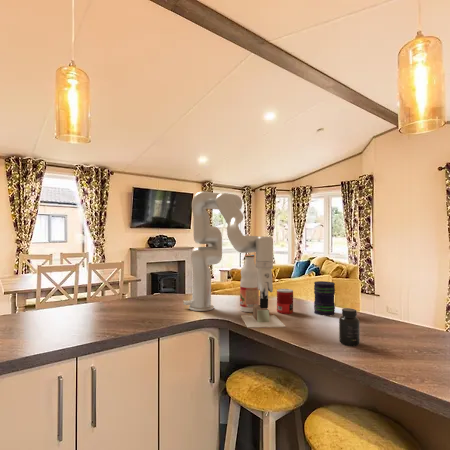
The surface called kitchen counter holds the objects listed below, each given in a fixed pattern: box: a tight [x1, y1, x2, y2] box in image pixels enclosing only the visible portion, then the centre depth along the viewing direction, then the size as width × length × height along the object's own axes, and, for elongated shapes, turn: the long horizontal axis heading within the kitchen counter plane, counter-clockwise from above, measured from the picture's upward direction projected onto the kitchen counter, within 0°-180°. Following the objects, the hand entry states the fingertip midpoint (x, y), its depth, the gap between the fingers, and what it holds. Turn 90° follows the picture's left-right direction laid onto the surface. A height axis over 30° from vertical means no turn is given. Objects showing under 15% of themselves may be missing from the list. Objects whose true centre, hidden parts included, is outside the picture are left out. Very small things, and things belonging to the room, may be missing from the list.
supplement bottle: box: [338, 307, 361, 347], centre depth 114 cm, size 7×7×12 cm
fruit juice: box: [239, 254, 260, 313], centre depth 162 cm, size 9×9×28 cm
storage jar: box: [313, 280, 336, 317], centre depth 158 cm, size 10×10×15 cm
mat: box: [240, 314, 286, 329], centre depth 141 cm, size 16×18×1 cm
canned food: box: [276, 288, 294, 315], centre depth 159 cm, size 8×8×11 cm
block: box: [252, 304, 270, 322], centre depth 144 cm, size 5×5×11 cm
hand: (263, 307), depth 138 cm, fingers closed
